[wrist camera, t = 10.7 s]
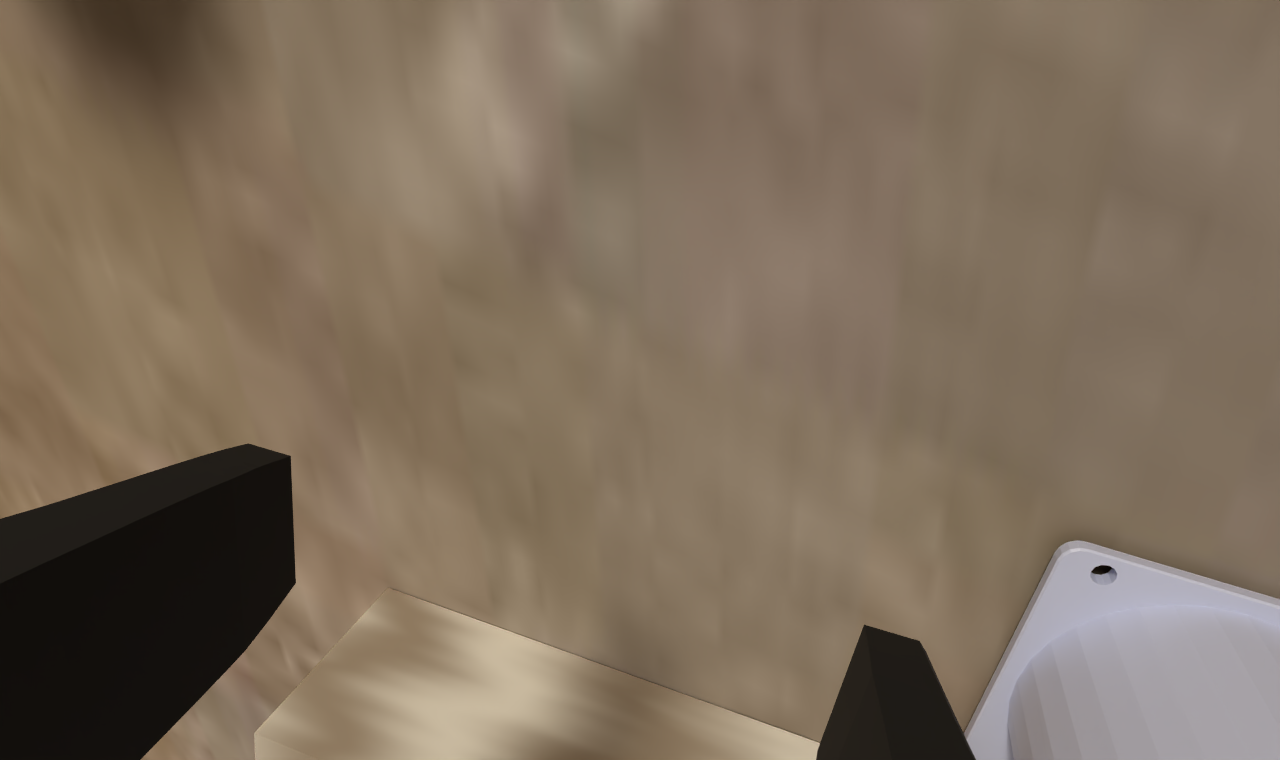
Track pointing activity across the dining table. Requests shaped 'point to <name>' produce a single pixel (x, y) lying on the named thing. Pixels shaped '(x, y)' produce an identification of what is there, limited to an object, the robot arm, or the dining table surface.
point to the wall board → (493, 701)
